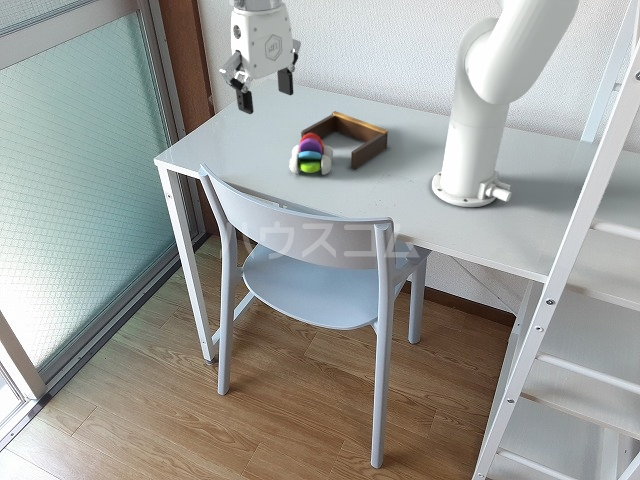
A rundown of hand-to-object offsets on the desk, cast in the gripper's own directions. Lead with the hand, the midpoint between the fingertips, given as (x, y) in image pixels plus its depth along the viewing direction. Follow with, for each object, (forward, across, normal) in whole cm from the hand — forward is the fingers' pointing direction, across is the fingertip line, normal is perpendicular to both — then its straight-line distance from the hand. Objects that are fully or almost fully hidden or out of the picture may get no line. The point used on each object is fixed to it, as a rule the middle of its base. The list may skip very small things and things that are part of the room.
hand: (266, 102), depth 91 cm
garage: (+18, +21, 0) cm, 28 cm away
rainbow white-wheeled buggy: (+19, +11, 0) cm, 22 cm away
